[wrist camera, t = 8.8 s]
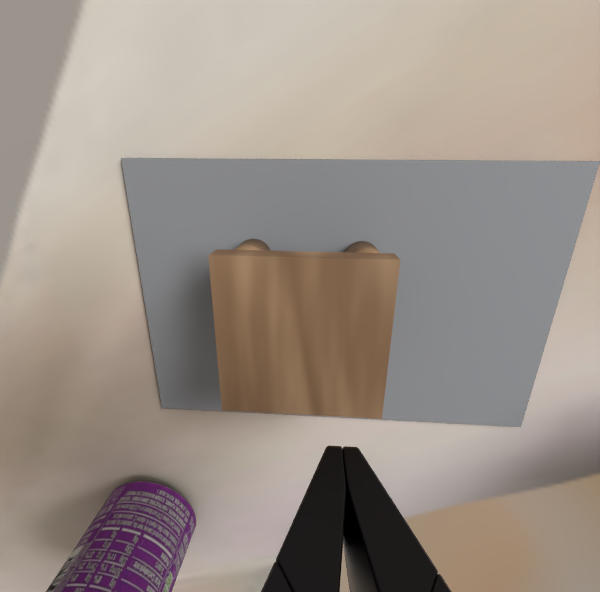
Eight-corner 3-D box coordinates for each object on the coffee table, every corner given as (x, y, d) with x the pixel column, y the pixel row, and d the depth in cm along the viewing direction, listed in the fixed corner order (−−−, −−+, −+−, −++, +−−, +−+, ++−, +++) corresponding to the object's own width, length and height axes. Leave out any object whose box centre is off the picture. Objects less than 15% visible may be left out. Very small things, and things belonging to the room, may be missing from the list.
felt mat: (595, 161, 16) (600, 161, 16) (518, 423, 22) (520, 426, 21) (124, 158, 17) (120, 158, 17) (163, 405, 23) (161, 408, 23)
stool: (400, 259, 13) (208, 255, 14) (381, 418, 16) (221, 410, 17) (381, 239, 18) (235, 236, 18) (369, 366, 20) (243, 361, 21)
